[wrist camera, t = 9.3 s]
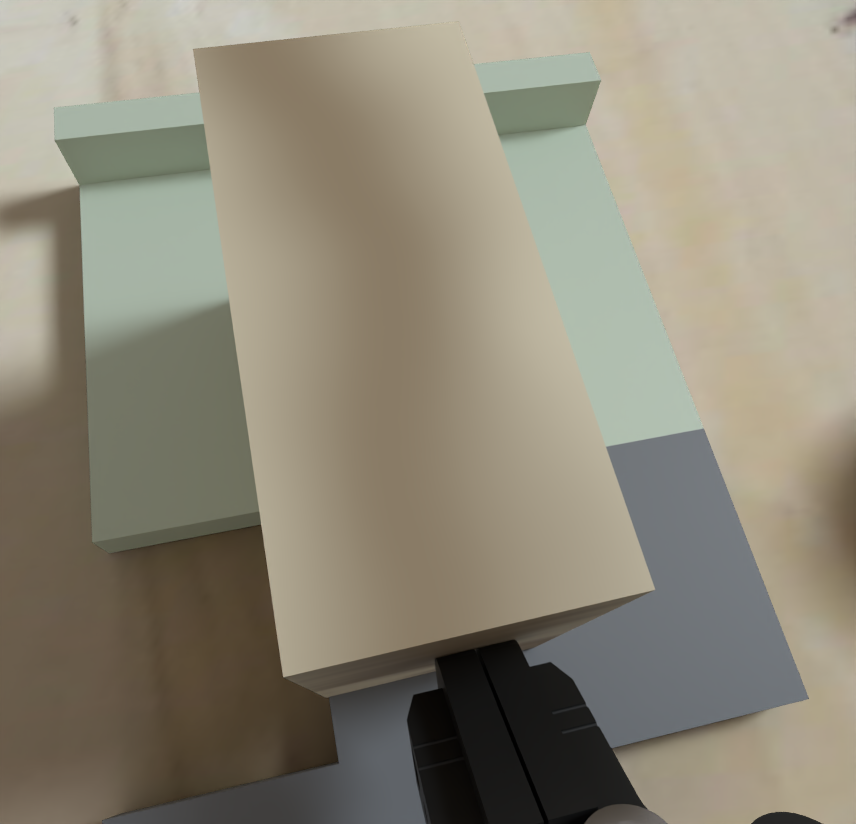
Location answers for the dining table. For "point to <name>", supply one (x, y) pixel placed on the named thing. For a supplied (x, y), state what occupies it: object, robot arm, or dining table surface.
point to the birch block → (401, 363)
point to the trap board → (232, 462)
